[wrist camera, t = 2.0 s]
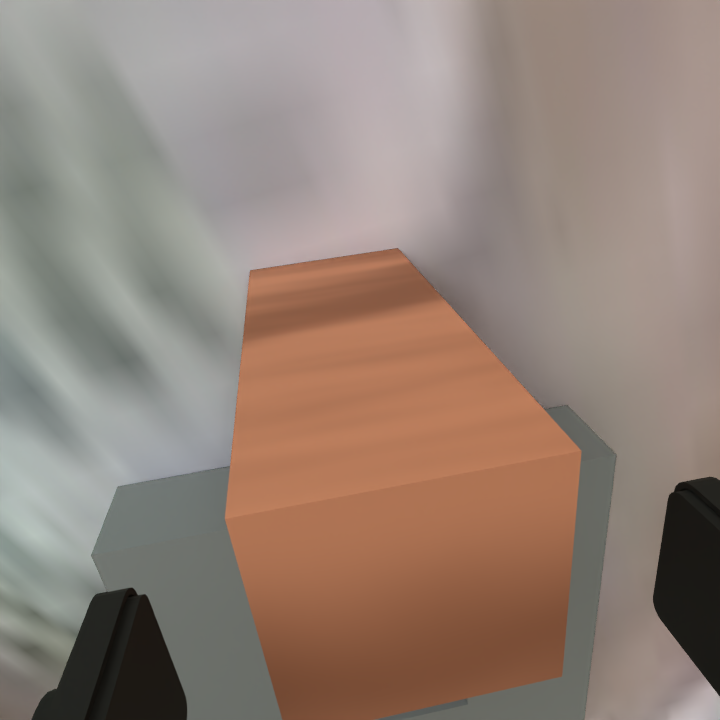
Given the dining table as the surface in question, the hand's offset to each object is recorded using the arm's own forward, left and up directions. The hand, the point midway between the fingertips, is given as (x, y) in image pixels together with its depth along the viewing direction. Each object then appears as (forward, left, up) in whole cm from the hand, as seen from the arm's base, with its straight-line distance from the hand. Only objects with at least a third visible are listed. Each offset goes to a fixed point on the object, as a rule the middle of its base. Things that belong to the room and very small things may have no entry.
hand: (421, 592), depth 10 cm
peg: (-1, 0, -11) cm, 11 cm away
